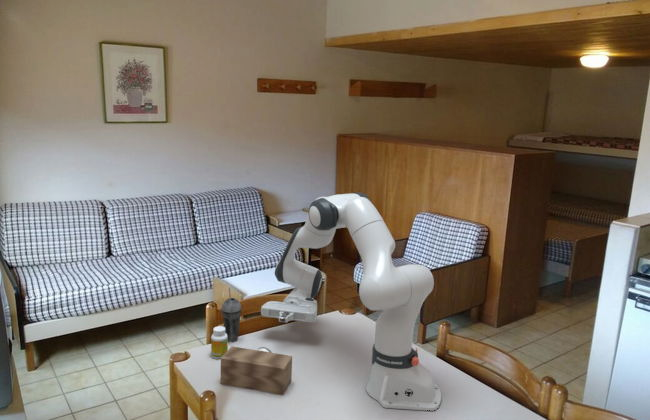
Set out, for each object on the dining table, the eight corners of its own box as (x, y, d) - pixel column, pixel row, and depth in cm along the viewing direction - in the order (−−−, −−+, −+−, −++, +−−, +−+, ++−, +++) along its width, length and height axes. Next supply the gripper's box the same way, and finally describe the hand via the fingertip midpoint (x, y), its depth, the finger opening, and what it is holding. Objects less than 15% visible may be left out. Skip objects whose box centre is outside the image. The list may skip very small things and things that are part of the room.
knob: (272, 362, 158) (272, 347, 157) (262, 376, 150) (262, 360, 149) (257, 359, 160) (257, 344, 159) (246, 373, 151) (246, 358, 150)
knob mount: (291, 381, 154) (292, 356, 153) (283, 395, 147) (284, 368, 145) (231, 370, 159) (231, 346, 157) (220, 383, 151) (220, 358, 150)
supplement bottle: (223, 360, 165) (223, 333, 163) (208, 358, 166) (208, 331, 164) (230, 352, 170) (230, 326, 168) (215, 350, 171) (215, 324, 169)
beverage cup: (245, 338, 181) (246, 286, 177) (231, 346, 175) (232, 292, 171) (230, 333, 185) (231, 281, 181) (216, 340, 179) (216, 287, 175)
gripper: (268, 294, 186) (254, 308, 173) (321, 300, 182) (311, 314, 169) (267, 310, 188) (254, 325, 174) (320, 316, 183) (310, 332, 170)
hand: (282, 320), depth 172 cm, fingers closed
